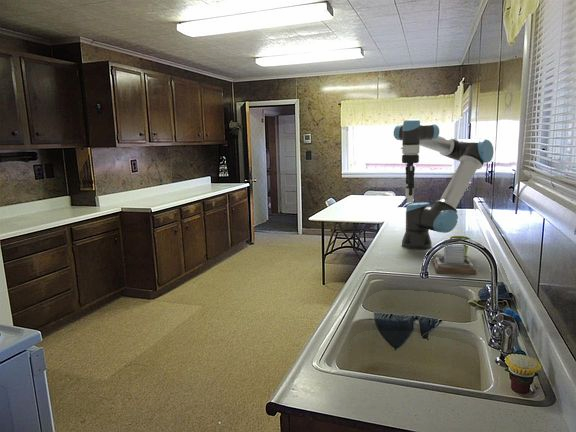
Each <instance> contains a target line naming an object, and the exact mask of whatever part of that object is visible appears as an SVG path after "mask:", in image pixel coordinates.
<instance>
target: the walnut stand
mask: <svg viewBox="0 0 576 432" xmlns="http://www.w3.org/2000/svg"><path fill="white" fill-rule="evenodd" d="M432 266H433V267H434V270H435V272H436V274H455V275H457V274H459V275H476V274H477V269H476V268H475V266H474V264H473V262H472V261H471V259H470V257H464V264H451V263H444V256H435V257H434V258H432Z"/></svg>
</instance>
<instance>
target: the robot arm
mask: <svg viewBox="0 0 576 432" xmlns="http://www.w3.org/2000/svg"><path fill="white" fill-rule="evenodd" d="M393 137H394V138H395V140H397V141H402V144H401V145H402V146H401V148H400V149H401V150H402V151H401V152H402V155H401V162H402V164H405V165H406V166H405V196H404V197H405V199H406V203H408V204H407V205H406V211H405V232H404V235H403V237H402V240H401V246H402V247H404V248H406V249H411V250H427V249H431V248H432V246H433V245H432V239H431V236H430V233H429V231H433V232H436V233H444V234H447V233H450V232H451V231H453V230H454V229H455V228H456V226H457V225H458V219H459V215H458V210H457V207H458V204H459V203H460V201H461V199H462V198H463V195H464V193H465V192H466V190H467V188H468V187H469V184H470V183H471V181H472V179H473V177H474V175H475V173H476V171H477V170H480V169H482V168H483V166H484V164H487V163H490V162H492V160H493V158H494V146H493V143H492V142H491V140H489V139H486V138H485V139H484V138H479V139H478V138H477V139H475V138H473V139H472V138H471V139H470V138H468V139H467V138H459V139H458V138H451V137H442V136H440V128H439V125H438V124H435V123H421V121H420V119H406V120H404V121H403V122H402V124H397V125H396V126H395V127H394V129H393ZM420 146H421V147H423V148H427V149H429V150H432V151H435V152H438V153H439V154H440V155H441V156H443V157H446V158H449V159H452V160H454V161H459V162H460V163H459V165H458V166H457V168H456V170H455V172H454V174H453V176H452V178H451V179H450V181H449V183H448V185H447V186H446V188H445V190H444V191H443V193H442V195H441V197H440V199H439V200H436V201H434V204H433V205H432V206H431V204H430V202H414V197H415V195H414V191H415V189H414V188H415V171H416V167H415V166H414V164H419V162H420V160H419V159H420V155H419V154H420Z"/></svg>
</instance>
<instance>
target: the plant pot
mask: <svg viewBox="0 0 576 432" xmlns="http://www.w3.org/2000/svg"><path fill="white" fill-rule="evenodd" d="M452 238H465V239H470V241H471V239H472V238H471V237H468V236H465V235H453V236H450V237H449V239H450V240H451V239H452ZM463 246H464V247H465V254H464V257H466V256H467V253H468V249H469V245H468V246H466V245H463Z"/></svg>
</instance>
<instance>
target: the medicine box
mask: <svg viewBox="0 0 576 432" xmlns="http://www.w3.org/2000/svg"><path fill="white" fill-rule="evenodd" d="M443 249H444V250H443V257H444V263H451V264H464V258H465V256H464V254H465V247H464V246H463V245H450V246H447V247H445V248H444V247H443Z"/></svg>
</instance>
